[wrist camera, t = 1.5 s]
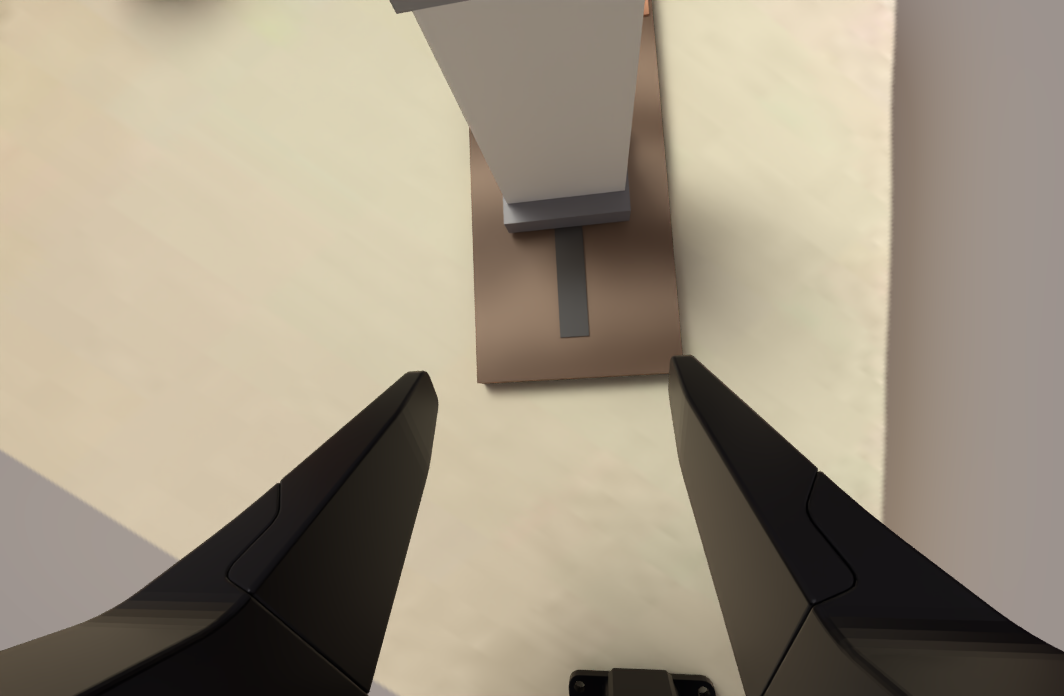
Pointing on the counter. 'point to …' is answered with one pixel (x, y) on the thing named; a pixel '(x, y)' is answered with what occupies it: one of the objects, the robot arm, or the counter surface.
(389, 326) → the counter surface
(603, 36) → the fader tab
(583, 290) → the slider base
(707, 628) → the counter surface
